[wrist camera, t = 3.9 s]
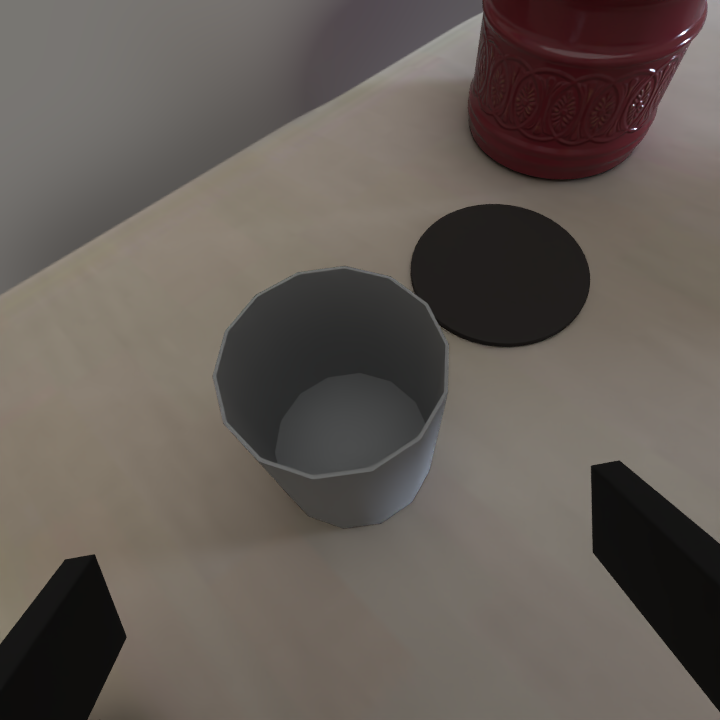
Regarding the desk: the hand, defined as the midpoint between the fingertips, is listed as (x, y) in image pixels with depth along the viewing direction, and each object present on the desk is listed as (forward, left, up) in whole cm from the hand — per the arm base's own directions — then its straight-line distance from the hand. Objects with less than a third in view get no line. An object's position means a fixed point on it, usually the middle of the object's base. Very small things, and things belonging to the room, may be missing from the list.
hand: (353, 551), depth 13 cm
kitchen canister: (-1, -35, -12) cm, 36 cm away
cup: (+3, -6, -12) cm, 13 cm away
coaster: (-1, -20, -11) cm, 23 cm away
